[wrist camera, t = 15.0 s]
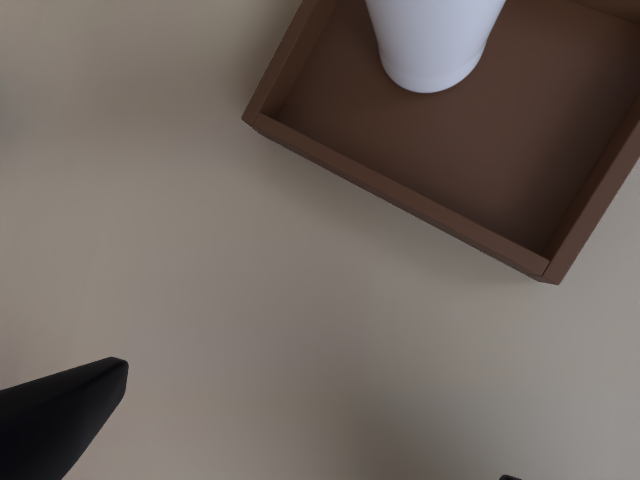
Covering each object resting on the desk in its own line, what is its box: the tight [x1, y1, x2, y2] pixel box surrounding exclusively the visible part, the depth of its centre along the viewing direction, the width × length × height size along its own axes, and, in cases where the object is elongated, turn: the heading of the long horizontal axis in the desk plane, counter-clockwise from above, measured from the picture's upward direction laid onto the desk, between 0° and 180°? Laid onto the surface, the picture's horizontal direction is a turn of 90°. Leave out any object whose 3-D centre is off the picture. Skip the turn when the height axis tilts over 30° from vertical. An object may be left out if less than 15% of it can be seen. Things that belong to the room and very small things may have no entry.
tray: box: [241, 0, 640, 285], centre depth 18 cm, size 18×14×2 cm
